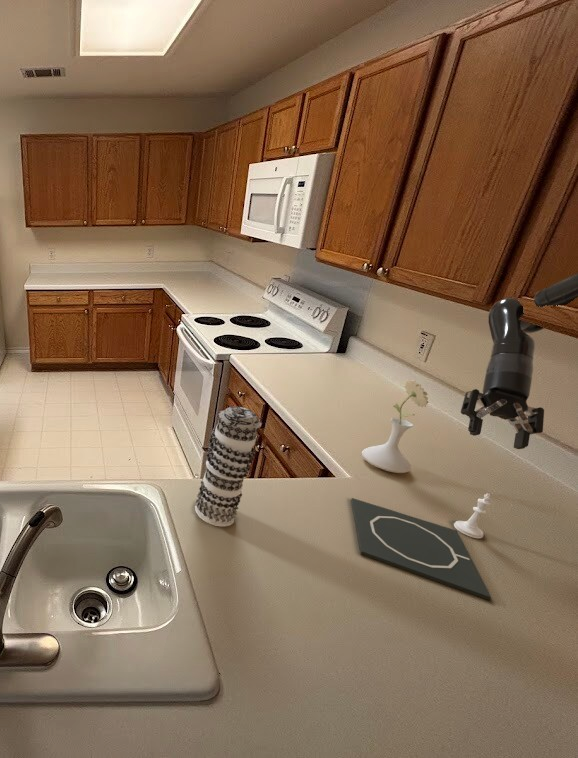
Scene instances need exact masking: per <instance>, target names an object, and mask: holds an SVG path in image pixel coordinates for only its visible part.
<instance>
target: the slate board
mask: <svg viewBox="0 0 578 758" xmlns="http://www.w3.org/2000/svg"><path fill="white" fill-rule="evenodd" d="M350 504H351V509H352V514H353V521H354V525H355V526H354V527H355V531H356V537H357V542H358V543H357V544H358V547H359V548H358V549H359V555H361V556H365V557H367V558H370V559H373V560H376V561H378V562H381V563H383V564H387V565H388V566H392V567H395V568H398V569H400V570H403V571H405V572H409V573H411V574H414V575H417V576H420V577H423V578H426V579H428V580H430V581H434V582H437V583H439V584H442V585H445V586H447V587H451V588H453V589H457V590H458V591H461V592H464V593H468V594H470V595H473V596H476V597H477V598H478V597H479V598H482V599H484V600H486V601H490V600H491V599H492V596H491V593H490V592H489V590H488V588H487V586H486V584H485V582H484V580H483V579H482V577H481V575H480V572H479V571H478V569H477V567H476V565H475V563H474V561H473V559H472V557H471V556H470V554H469V551H468V550H467V547H466V545H465V544H464V542H463V540H462V538H461V536H460V534H459V531H458V530H457V529H453V528H449V527H446V526H443V525H440V524H436V523H434V522H432V521H431V522H430V521H427V520H424V519H421V518H418V517H414V516H412V515H409V514H405V513H402V512H398V511H397V510H392V509H388V508H387V507H386V508H385V507H383V506H379V505H376V504H372V503H370V502H367V501H363V500H360V499H357V498H353V497H351V499H350Z"/></svg>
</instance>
